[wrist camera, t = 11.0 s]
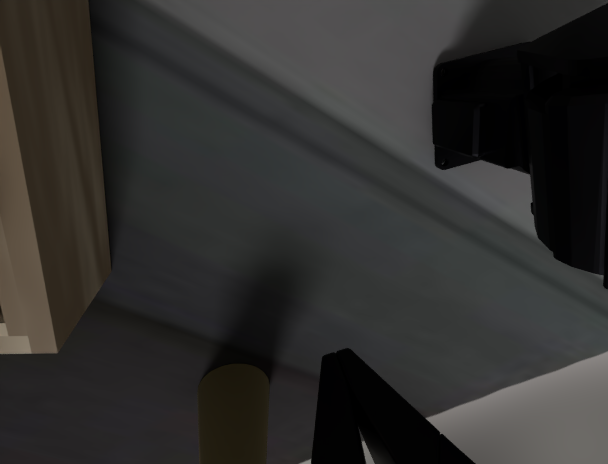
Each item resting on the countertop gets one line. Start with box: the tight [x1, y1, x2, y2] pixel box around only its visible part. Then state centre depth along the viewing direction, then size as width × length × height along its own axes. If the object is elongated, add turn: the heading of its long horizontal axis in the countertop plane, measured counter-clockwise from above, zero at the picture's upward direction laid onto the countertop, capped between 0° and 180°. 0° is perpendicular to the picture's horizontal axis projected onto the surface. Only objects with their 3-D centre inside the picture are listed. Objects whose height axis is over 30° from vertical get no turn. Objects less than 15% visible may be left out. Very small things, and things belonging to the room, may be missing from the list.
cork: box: [197, 364, 269, 464], centre depth 22 cm, size 6×6×11 cm
